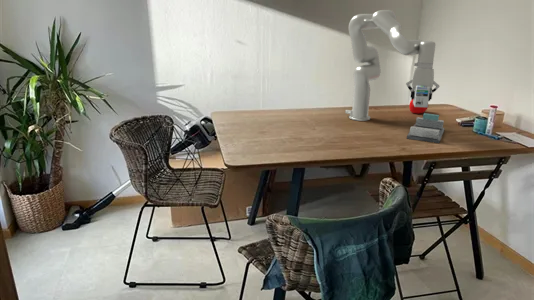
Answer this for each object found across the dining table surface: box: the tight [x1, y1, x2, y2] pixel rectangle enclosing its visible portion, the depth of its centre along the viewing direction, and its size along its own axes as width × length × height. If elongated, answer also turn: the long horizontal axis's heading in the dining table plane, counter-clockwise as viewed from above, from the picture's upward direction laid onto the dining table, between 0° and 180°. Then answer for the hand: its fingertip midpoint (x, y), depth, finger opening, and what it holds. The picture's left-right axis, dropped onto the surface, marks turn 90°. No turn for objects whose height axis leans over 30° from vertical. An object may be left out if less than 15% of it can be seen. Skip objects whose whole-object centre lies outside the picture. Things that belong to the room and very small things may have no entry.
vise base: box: [406, 123, 445, 144], centre depth 228 cm, size 16×25×6 cm, turn 153°
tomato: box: [408, 99, 428, 115], centre depth 270 cm, size 11×13×10 cm
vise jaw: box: [415, 112, 445, 129], centre depth 237 cm, size 14×6×6 cm, turn 63°
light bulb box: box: [413, 86, 430, 109], centre depth 223 cm, size 11×7×11 cm, turn 167°
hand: (420, 99), depth 224 cm, fingers closed on light bulb box, 7 cm apart
